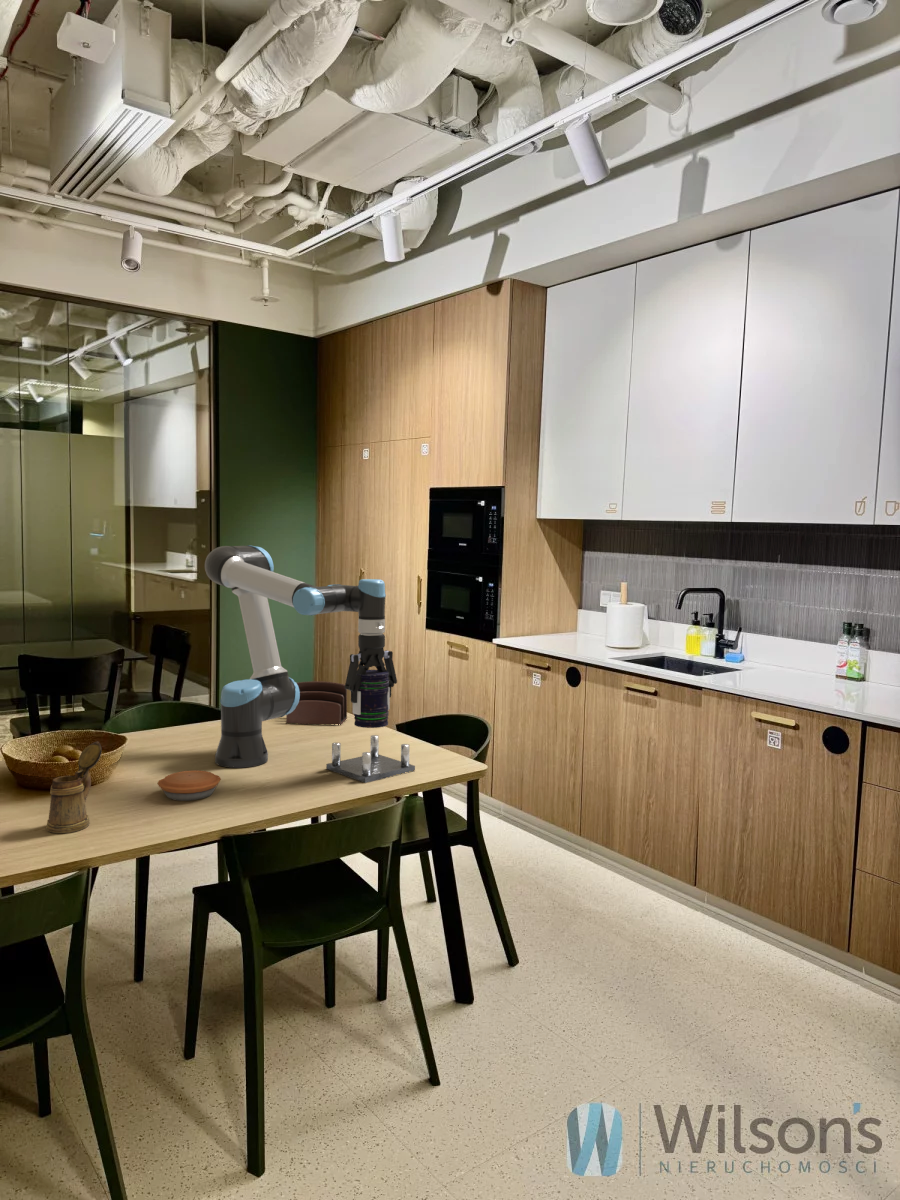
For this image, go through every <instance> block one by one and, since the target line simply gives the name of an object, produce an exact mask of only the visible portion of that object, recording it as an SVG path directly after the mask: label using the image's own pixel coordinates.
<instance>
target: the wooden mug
mask: <svg viewBox="0 0 900 1200" xmlns="http://www.w3.org/2000/svg"><path fill="white" fill-rule="evenodd" d="M102 751H103V749H102V745H101V743H100V741H98V740H97V741H95V742H92V743H90V744H89V745H88V746H85V748H83V750H82V751H81V752H80V755H79V757H78V764H77V765H78V770H77V771H76V772H75V773H74V775H63V776H58V777H55V778H53V779H52V783H51V786H50V792H49V794H50V804H49V805H50V806H49V813H48V819H47V821H46V826H45V830H46V831H47V832H48V833H49V832H50V833H51V834H69V833H75V832H79V831H82V830H85V829H86V828H88V826H89V825H90V818H89V815H88V814H87V808H86V807H87V806H86V802H87V799H88V796H89V793H90V791H91V790H90V789H91V786H92V776H91V773H90V770H91V769H93V767H95V766H96V764H97V763H98V762H99V760H100V758H101V756H102Z"/></svg>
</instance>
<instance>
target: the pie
mask: <svg viewBox="0 0 900 1200" xmlns="http://www.w3.org/2000/svg"><path fill="white" fill-rule="evenodd" d="M221 780H222V778H221V777H220V776H219V775H216V774H215V773H213V772H211V771H206V770H183V771H178V772H177V771H176V772H172V773H171V774H167V775H166V776H165V777H164V778H162V779H159V780H158V782H157V785H158V787H159V788H160V790H163V793H164V794H165V796H166V797H167V798H168V799H169V800H173V801H178V802H179V801H184V802H187V801H189V802H190V801H196V800H202V799H205V798H208V797H211V795H212V794H214V791H215V789H216V788H217V786H218V785H219V783H220V782H221Z"/></svg>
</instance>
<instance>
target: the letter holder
mask: <svg viewBox="0 0 900 1200" xmlns="http://www.w3.org/2000/svg"><path fill="white" fill-rule="evenodd" d="M296 683H297V685H298V687H299V691H300V699H299V703H298V705H297V706H296V708H295V710H294V711H293V712H291V713H290V714H287V715H285V716H286V720H285V722H286V724H287V723H298V724H297V725H308V724H338V725H339V724H340V725H341V724H342V723H343V722H344V721H345V720H346V719H347V720H348V700H347V699H348V694H347V693H348V689H345V683H340V682H339V683H338V682H332V681H317V680H316V681H315V680H314V681H301V682H299V681H298V682H296ZM347 720H346V721H347ZM346 721H345V722H346ZM345 722H344V723H345ZM344 723H343V724H344ZM343 724H342V725H343ZM342 725H341V726H342Z"/></svg>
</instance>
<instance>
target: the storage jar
mask: <svg viewBox="0 0 900 1200" xmlns="http://www.w3.org/2000/svg"><path fill="white" fill-rule="evenodd" d="M356 675H361V674H356ZM361 678H362V680H361V682H362V683H361V685H360V687H359V690H358V691H360V692H361V715H357V714H353V715H354V723H353V724H354V726H355V727H358V728H363V729H378V728H384V727H387V726H389V721H388V720H389V714H390V713H389V712H390V711H389V710H388V704H387V699H388V689H389V688H388V685H389V681H388V671H387V672H379V671H377V669H368V670H367V671H366V673H365V675H361Z"/></svg>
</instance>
